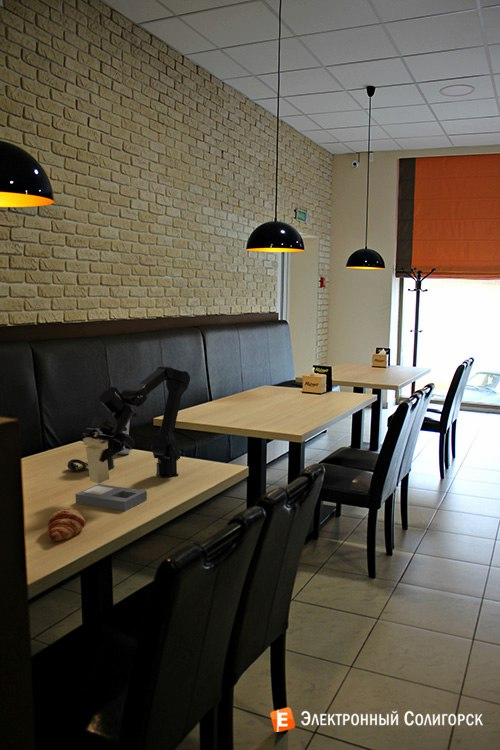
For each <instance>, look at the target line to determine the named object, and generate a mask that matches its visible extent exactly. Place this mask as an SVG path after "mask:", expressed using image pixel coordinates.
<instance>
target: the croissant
mask: <svg viewBox="0 0 500 750" xmlns="http://www.w3.org/2000/svg"><path fill="white" fill-rule="evenodd" d="M82 513H83V512H82V511H80V510H78V509H74V508H73V509H72V508H64V509H61V510H58V511H56V512H54V513H52V514H51V515H50V517H49V519H48V521H47V531H48V536H47V537H48V538H49V539H50V540H51V541H53V542H58V541H64V540H68V539H69V540H70V538H71V537H74V536H76V535H77V534H78V533H79V532H80V531H82V530H83V529H84V528H85V526H86V520H85V518H84V516H83V514H82Z"/></svg>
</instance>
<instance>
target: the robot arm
mask: <svg viewBox="0 0 500 750" xmlns="http://www.w3.org/2000/svg"><path fill="white" fill-rule="evenodd" d="M165 381H166V382H165ZM190 381H191V376H190V374H189V372H188V371H186V370H179V369H176V368H173V367H170V366H167V365H166V366H165V365H160V366H158V367H157V368H156V370H154V371H153V372H152V373H150V374H149V375H148V376H147V377H145V378H144V379H142V381H140V382H139V383H137V384H135V385H130V386H129V387H126V388H125V389H123V390H122V391H121V392H120V391H119V390H118V388H117V387H116V386H110V387H109V389H106V390H105V391H103V392H102V393H101V394H100V395H99V402H100V403H101V404H102V405H103V406H104V407H105V408H106V409H107V411H109V412H110V413H113V414H111V415H110V416H107V417H102V416H95V415H94V417H93V421H92V424H91V426H92V427H86V428H84V430H83V431H82V435H83V436H84V438H87V437H89V438H93V439H97V440H101V441H103V440H105V441H108V448H107V449H106V450H105V452H104V454H103V456H102V458H101V462H104V461H106V460H107V459H109V458H110V457H112V456H113V457H114V456H115V455H116V454H117V453H118V452H120V451H123V450H124V448H123V447H124V445H125V448H126V449H129V450H130V451H132V450H133V448H135V444H136V443H135V440H134V439H133V438H132V437H131V436H130V435H128V434H125V433H122V432H123V431H127V428H126V425H127V424H128V422H129V420H130V421H131V418H135V419H136V418H138V415H137V411H136V408H135V409H133V408H132V407H137V408H139V407H141V406H143V404H144V403H145V402H146V401H147V400H148V397H149V395H150V393H151V392H152V391H154V390H155V389H156V388H157V387H159V386H160V385H161V384H162V383H164V382H165V386H166V390H167V392H168V393H167V398H166V403H165V407H164V412H163V416H162V420H161V426H160V430H159V431H158V433H157V434H156V433H154V434H153V435H152V440H151V443H150V445H151V451H152V454H153V457H154V459H157V462H156V475H158V476H159V477H160V478H162V479H164V478H171V477H178V476H179V473H178V467H177V465H178V463H177V462H178V461H179V460H180V459H181V455H182V453H181V452H180V450H179V449H178V448H177V440H176V436H175V428H176V424H177V419H178V414H179V410H180V405H181V400H182V396H183V395H184V393H185V392H186V391H187V390H188V388H189V384H190ZM93 427H96V428H93ZM97 428H99V430H100V431H101V432H102V434H100V433H99V432H98V431H97V430H96V429H97Z"/></svg>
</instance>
